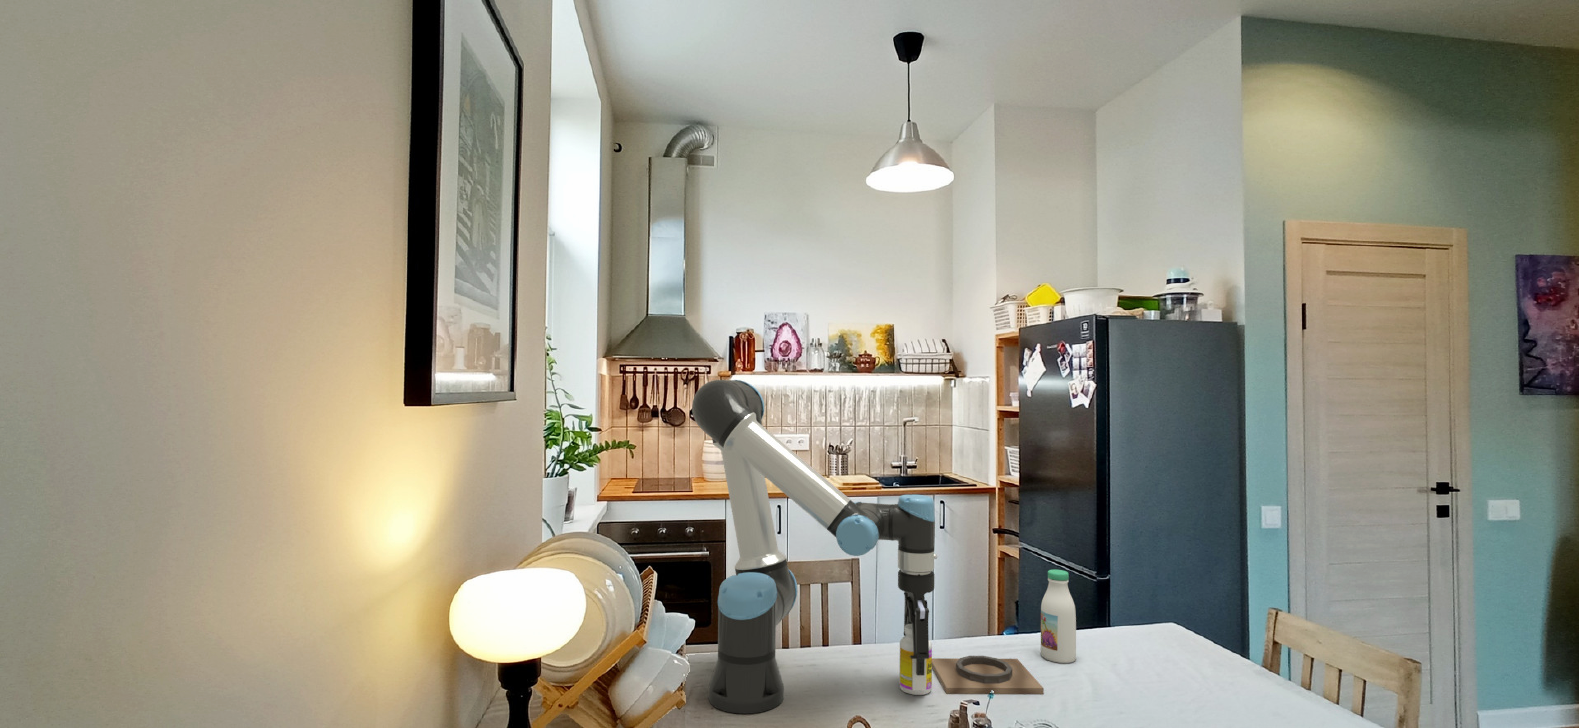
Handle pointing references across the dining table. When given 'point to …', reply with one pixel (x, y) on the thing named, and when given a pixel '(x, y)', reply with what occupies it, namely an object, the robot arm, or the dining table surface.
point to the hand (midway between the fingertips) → (915, 682)
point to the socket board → (985, 676)
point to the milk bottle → (1058, 620)
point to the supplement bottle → (906, 664)
